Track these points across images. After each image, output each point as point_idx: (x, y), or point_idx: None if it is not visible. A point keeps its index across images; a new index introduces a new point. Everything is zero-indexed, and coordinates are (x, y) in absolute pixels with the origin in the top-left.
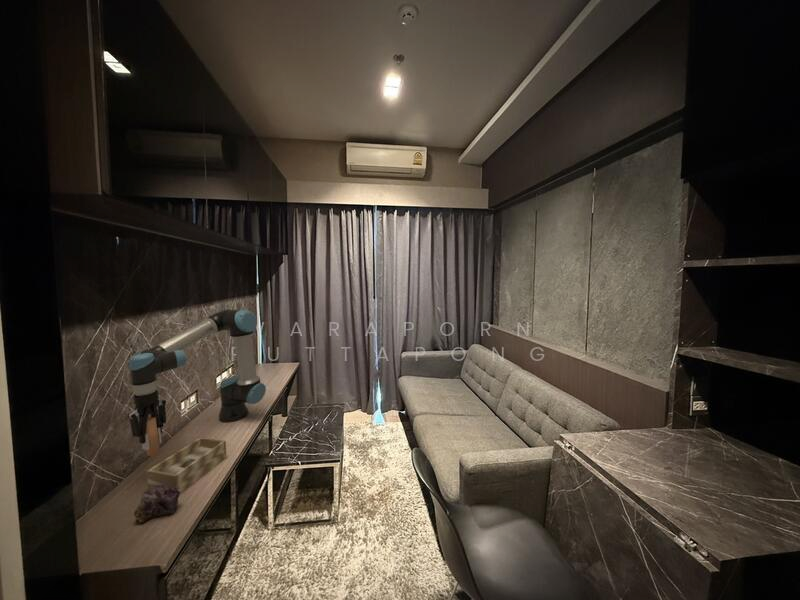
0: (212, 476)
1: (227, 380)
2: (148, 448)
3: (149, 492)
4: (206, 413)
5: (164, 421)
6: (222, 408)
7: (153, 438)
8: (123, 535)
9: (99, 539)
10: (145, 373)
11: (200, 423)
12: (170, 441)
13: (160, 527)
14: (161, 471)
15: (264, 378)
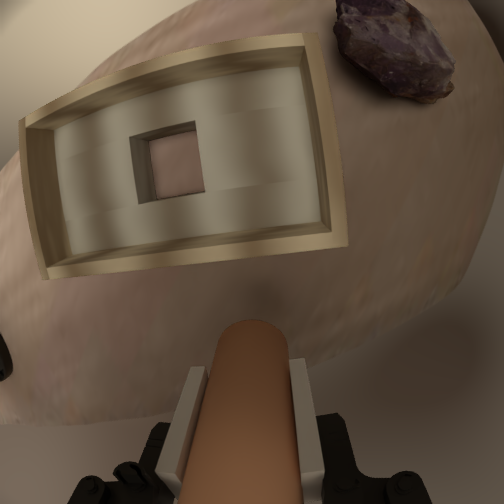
0: (169, 53)
1: None
2: (298, 366)
3: (437, 49)
4: (32, 417)
5: (91, 493)
6: None
7: (256, 410)
8: (462, 88)
9: (488, 144)
10: None
11: (47, 403)
12: (123, 417)
13: None
14: (271, 228)
15: None
